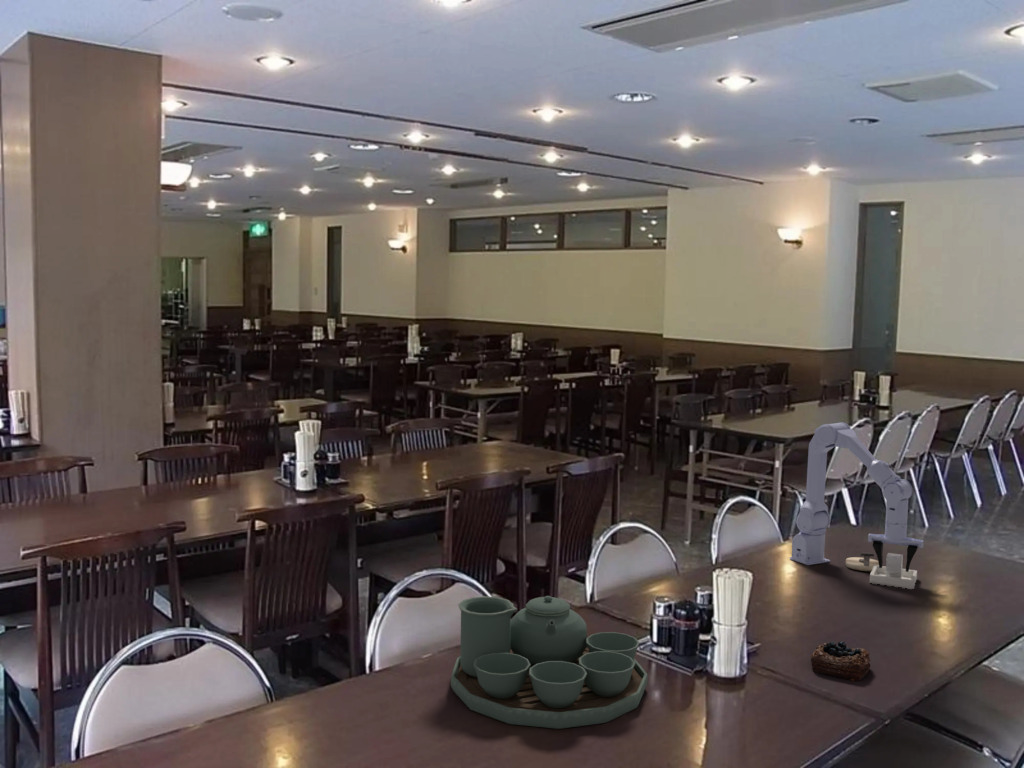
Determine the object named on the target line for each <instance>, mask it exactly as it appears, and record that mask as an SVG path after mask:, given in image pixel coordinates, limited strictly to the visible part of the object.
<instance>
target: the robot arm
mask: <svg viewBox="0 0 1024 768" xmlns="http://www.w3.org/2000/svg"><path fill="white" fill-rule="evenodd" d="M834 447H837V448H843V449H847V450H848V451H849V452H850V453H851V454H852V455H854V457H856V458H857V460H859V461H860V462H861V463H862V464H863V465H864V466H865V467H866V473H867V475H868V476H869V477H870V479H872V480H873V481H874V482H875V483H876V484H877V485H878V487H879V488H880V489H881V490H882V494H883V497H884V499H885V505H886V506H885V508H886V509H885V527H884V534H882V533H881V534H880V533H879V534H877V533H868V536H867V542H869V543H872V548H873V549H874V552H875V554H876V555H875V556H876V557H877V561H878V562H879V568H882V566H883V563H884V561H883V560H884V559H883V558H884V557H883V552H884V551H883V550H884V544H890V545H899V546H905V547H906V546H907V549H906V562H905V563H906V565H905V569H906V572H908V571H909V570H910V566H911V563H912V561H913V558H914V556H915V555H916V553H917V551H918V549H923V548H924V539H918V538H913V537H907V536H908V535H907V531H908V514H909V513H908V512H909V499H910V498H911V497H912V495H913V487H912V485H911V483H910V482H909V480H907V479H904V478H903V479H902V478H901V476H900V475H897V474H896V473H895V471H893V470H892V469H891V468H890V464H889V463H888V462H887V461H885V460H878V459H876V457H875V456H874V455H873V454H872V453H871V451H870V450H869V449H868V448H867V447H866V445H865V444H864V443H863V442H862V441H861V439H859V437H858V436H857V434H856V430H854V429H853V428H851V427H850V425H849V424H847V422H843V421H840V422H837V423H824V424H822V425H820V426H819V427H817V428H815V429H814V434H813V437H812V438H811V439H810V441H809V444H808V451H807V453H808V454H807V455H808V456H807V470H806V487H805V488H806V489H805V501H804V502H803V503H802V504H801V506H800V507H799V513H798V515H797V516H796V519H795V521H796V527H797V529H798V530H799V533H796V534H795V535H794V536H793V538H792V540H791V541H792V542H791V556H790V557H789V559H790V560H792V561H794V562H797V563H800V564H804V565H806V566H811V565H818V564H825V563H831V560H830V559H828V558H826V557H825V547H826V545H825V544H826V543H825V541H826V540H825V539H826V531H827V528H828V527H829V526H830V524H831V517H830V514H829V507H828V505H827V503H825V498H826V497H825V494H826V477H827V460H828V452H829V451H831V450H832V449H833V448H834Z"/></svg>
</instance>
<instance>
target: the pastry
mask: <svg viewBox="0 0 1024 768" xmlns="http://www.w3.org/2000/svg"><path fill="white" fill-rule="evenodd" d="M870 662H871V659H870V653H869V652H868V651H867V649H865V648H860V647H855V648H851V647H850V646H847V644H846V643H845V641H838V643H836V642H835V641H830V642H827V643H826V642H824V643H822V644H820V645H817V646H816V649H815V650H814V651H813V653H811V655H810V663H811V668H812V672H813V673H816V674H820V675H825V676H829V677H833V678H837V679H845V680H849V681H850V682H860V681H862V680H863V678H865V677H866V676H867V674H868V673H869V671H870V668H871V664H870Z"/></svg>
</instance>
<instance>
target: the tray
mask: <svg viewBox="0 0 1024 768" xmlns="http://www.w3.org/2000/svg"><path fill="white" fill-rule="evenodd" d="M917 579H918V570H915V569H909V571H908V572H906V568H902V578H894V577H887V576H886V565H884V566H883V565H882V568H879V565H874V567H873V569H872V571H870V574H869V584H870V583H872V584H871V585H877V584H880V585H879V586H884V585H887V586H886V587H891V586H894V587H893V588H898V587H902V588H901V589H905V588H907V589H906V590H912V589H914V590H915V587H916V584H915V583H917Z"/></svg>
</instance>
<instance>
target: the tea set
mask: <svg viewBox="0 0 1024 768" xmlns="http://www.w3.org/2000/svg"><path fill="white" fill-rule="evenodd" d="M457 606H458V608H459V611H460V656H457V657H456V660H455V663H454V667H453V669H452V673H451V676H450V686H451V689H452V691H453V692H454V694H455V695H456V696H457V697H459V699H460V700H461V701H462V702H463V703H464V704H465V705H466V706H467V708H469V710H471V711H473V712H475V713H479V714H481V715H483V716H487V717H489V718H492V719H493V720H498V721H500V722H502V723H506V724H509V725H517V726H527V727H528V726H529V727H536V728H537V727H538V728H548V729H557V730H560V729H561V730H562V729H567V728H574V727H575V728H576V727H582V726H590V725H591V726H592V725H598V724H604V723H608V722H610V721H612V720H614V719H616V718H619V717H620V716H623V715H624V714H627V713H629V712H631V711H632V710H635V709H637V708H638V707H639V704H640V703H641V699H642V697H643V695H644V692H645V689H646V687H647V685H648V681H649V680H648V676H649V675H648V673H647V671H645V669H644V668H643V667H642V665H641V664H640V663H639V662H638V661H637V659H635V657H636V653H637V649H638V647H639V645H640V643H641V642H640V641H639V640H638V639H637V638H636V637H634V636H632V635H630V634H627V633H621V632H615V631H609V632H608V631H607V632H606V631H605V632H604V631H603V632H596V633H592V634H591V635H589V636H588V628H587V626H588V625H587V622H586V621H585V620H584V619H583V618H582V616H581V615H580V614H579V613H578V612H575V611H574V610H573V609H571V605H570V604H569V603H568V602H567V601H566V600H564V599H562V598H558V597H555V596H554V597H552V596H550V595H545V596H539V597H535V598H532V599H530V600H529V601H527V603H526V604H525V607H524V608H522V609H520V610H519V611H518V608H517V607H515V606H514V603H513V602H511V600H509V599H507V598H506V599H505V598H502V597H498V596H487V595H486V596H484V595H483V596H474V597H470V598H465V599H463V600H461V602H459V603H458V604H457ZM517 611H518V612H517ZM516 612H517V613H516ZM514 613H516V614H515V615H514V616H513V614H514Z"/></svg>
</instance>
